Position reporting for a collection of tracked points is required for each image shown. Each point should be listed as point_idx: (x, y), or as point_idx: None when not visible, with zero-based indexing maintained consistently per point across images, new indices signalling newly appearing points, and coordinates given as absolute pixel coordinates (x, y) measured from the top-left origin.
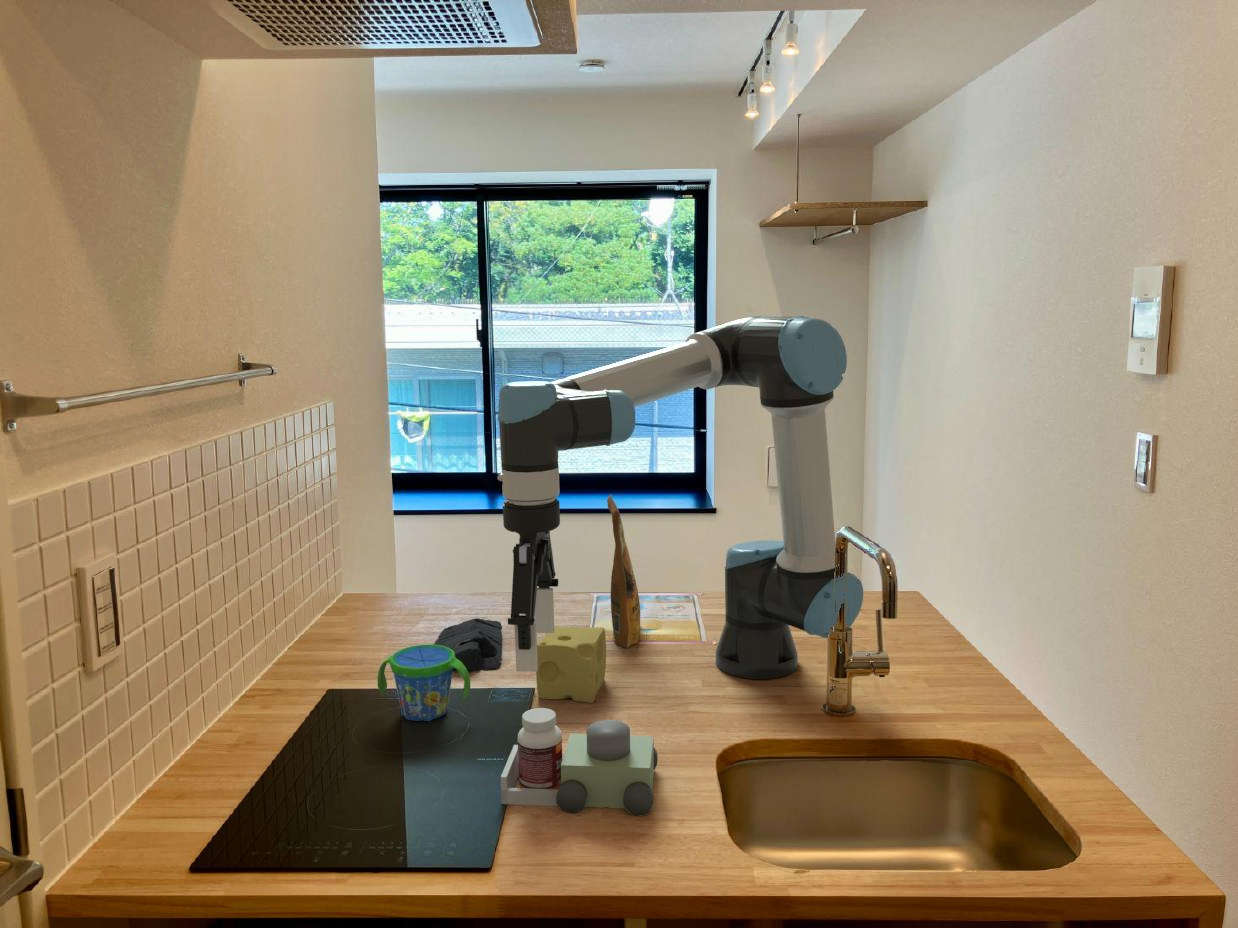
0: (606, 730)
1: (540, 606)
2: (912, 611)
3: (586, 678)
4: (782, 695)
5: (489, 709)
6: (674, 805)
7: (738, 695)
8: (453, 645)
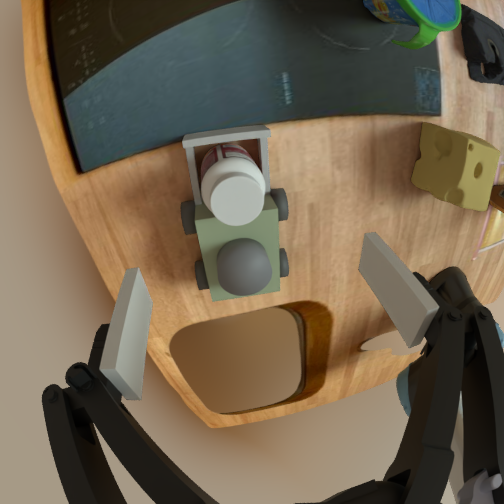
0: (244, 274)
1: (395, 290)
2: None
3: (429, 185)
4: None
5: (399, 69)
6: None
7: None
8: (491, 38)
